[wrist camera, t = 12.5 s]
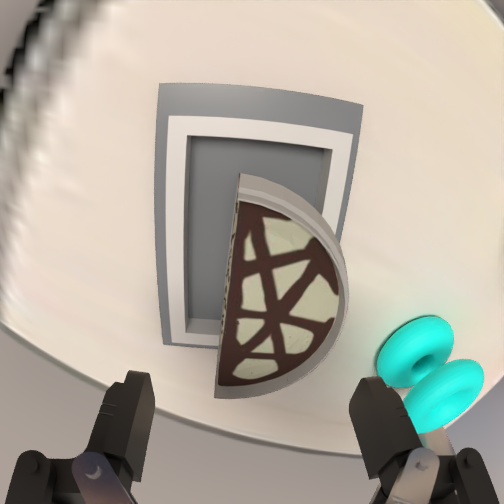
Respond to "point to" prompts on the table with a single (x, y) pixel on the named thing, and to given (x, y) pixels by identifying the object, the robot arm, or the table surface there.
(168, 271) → the tray
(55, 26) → the table surface
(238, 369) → the food container
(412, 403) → the donuts
